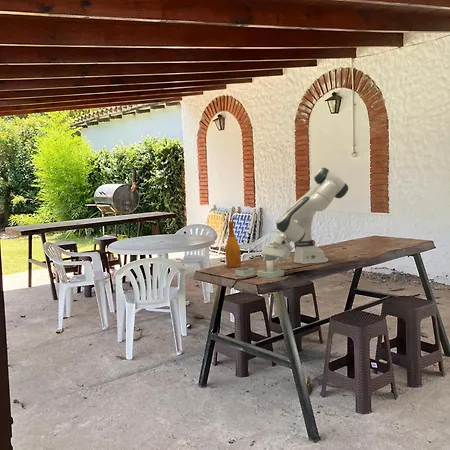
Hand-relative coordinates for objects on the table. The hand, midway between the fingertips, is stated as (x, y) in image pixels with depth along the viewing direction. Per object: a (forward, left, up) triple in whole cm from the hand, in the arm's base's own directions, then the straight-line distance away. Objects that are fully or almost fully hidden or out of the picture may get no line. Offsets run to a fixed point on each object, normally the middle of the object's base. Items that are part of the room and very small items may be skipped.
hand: (269, 263), depth 299 cm
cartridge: (0, 0, -7) cm, 7 cm away
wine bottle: (+28, -34, -8) cm, 45 cm away
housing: (+16, -5, -7) cm, 18 cm away
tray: (0, 0, -7) cm, 7 cm away
